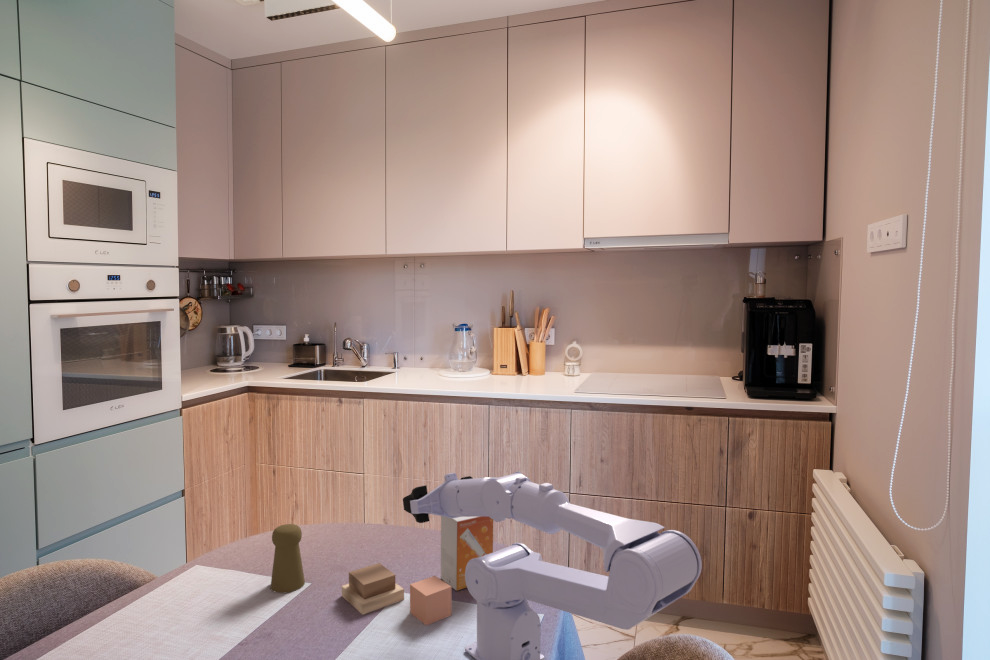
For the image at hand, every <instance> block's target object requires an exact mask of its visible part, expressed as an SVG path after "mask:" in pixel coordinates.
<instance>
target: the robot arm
mask: <svg viewBox="0 0 990 660" xmlns="http://www.w3.org/2000/svg"><path fill="white" fill-rule="evenodd" d="M427 487H428V486H427V485H421V486H417V487H414V488H412V490H411V493H410V494H408V495H406V496H404V497H402V504H403V506H402V507H403V510H404V511H405V512H406V513H408V514H411V515H412V516H413V518H414V519H415V521H416V523H419V524H423V523H424V524H425V523H428V522H430V516H429V515H433V516H438V517H441V516H443V517H448V518H458V517H473V516H489V517H490V518H491V519H493V522H495V523H501V522H503V521H505V520H507V519H509V520H510V519H512V520H514V521H516V522H519V523H520V524H524V525H526V526H527V527H531V528H533V529H536V530H538V531H541V532H543V533H546V534H549V535H555V534H557V533H559V532H561V530H563V531H565V532H567V533H568V534H570V535H573V536H574V537H576V538H579V539H580V540H583V541H585V542H588V543H589V544H592V545H593V546H596V547H598V548H600V549H601V550H602V559H603V561H602V562H603V570H604V571H605V572H606V573H608V572H609V573H608V576H607V575H603V574H599V573H596V572H595V573H594V572H591V571H586V570H581V569H578V568H572V567H569V566H566V565H561V564H557V563H551V562H547V561H544V560H543V557H542V554H541V553H540V552H536V551H533V550H532V549H530V547H528V546H527V545H526V544H525V543H522V542H514V543H512V544H511V545H510V546H507V547H504V548H501V549H499V550H496V551H493V553H490V554H487V555H485V556H482V557H479V558H473V559H471V560H470V561H469V562H468V563H467V565H466V570H465V581H466V585H467V590H468V592H469V594H470V595H471V597H472V598H473V599H474V600H475V601H476V641H474V642H473V643H470V644H468V645H465V647H464V651H465V652H466V653H467V654H468V655H470V656H471V657H472V658H474V659H475V660H545V655H543V654H542V653H541V634H542V633H541V619H540V616H539V614H538V612H536V611H535V610H534V609H533V608H532V606H530V604H529V603H528V601H530V602H534V603H537V604H540V605H543V606H547V607H549V608H553V609H557V610H559V611H562V612H566V613H569V614H572V615H576V616H578V617H582V618H586V619H589V620H592V621H595V622H598V623H601V624H605V625H608V626H612V627H615V628H618V629H621V630H627V631H628V630H631V629H632V628H634V627H636V626H637V625H640V624H642V622H644V621H646V620H648V619H649V618H651V617H652V616H654V615H655V614H657V613H658V612H660V611H662V610H663V609H665V608H667V607H668V606H670V605H671V604H673V603H674V602H676V601H677V600H679V599H681V598H682V597H684V596H685V595H687V594H689V593H690V592H691V591H692V589H693V587H694V586H695V584H696V582H697V581H698V579H699V577H700V576H701V573H702V568H703V562H702V556H701V553H700V551H699V548H698V547H697V546H696V544H695V542H694V540H692V539H691V538H690V537H689V536H688V535H686V534H685V533H684V532H682V531H680V530H676V529H675V530H674V529H669V530H668V529H667V530H664V531H662V532H661V533H660V532H658V531H661V530H663V529H665V528H666V526H663V525H661V524H659V523H657V522H652V521H645V520H640V519H639V520H638V519H633V518H627V517H623V516H620V515H615V514H611V513H608V512H605V511H600V510H597V509H592V508H588V507H584V506H581V505H578V504H573V503H570V500H569V498H568V496H567V494H566V493H565V492H563V491H561V490H557V489H555V488H554V485H553V484H552V483H551V482H550V483H549V482H544V483H541V484H539V483H535V482H532V481H531V479H530V478H528V477H527V475H524V474H522V472H521V471H515V472H513V473H512V474H508V475H502V476H499V477H496V476H495V477H489V476H487V477H477V478H476V477H475V478H473V477H472V476H464V477H461V478H460V479H459V478H458V475H457V473H456V472H449V473H446V474H444V480H443V482H442V483H441V484H439V485H438V486H437V487H435V488H434V489H432V490H431V491H429V492H428V488H427Z"/></svg>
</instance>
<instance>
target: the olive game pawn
mask: <svg viewBox="0 0 990 660" xmlns="http://www.w3.org/2000/svg"><path fill="white" fill-rule="evenodd" d="M271 534H272V535H271V541H272V544H273V545H274V555H273V564H272V572H271V580H270V588H269V589H270V591H272V592H274V593H279V594H286V593H293V592H296V591H298V590H300V589H301V588H303V587H304V585H305V584H306V582H305V581H306V580H305V575H304V569H303V561H302V556H301V549H300V542H301V541H302V534H303V533H302V529H301V528H300V526H299V525H297V524H292V523H286V524H281V525H279V526H276V528H274V529H273V531H272V533H271Z"/></svg>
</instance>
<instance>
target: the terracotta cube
mask: <svg viewBox="0 0 990 660" xmlns="http://www.w3.org/2000/svg"><path fill="white" fill-rule="evenodd" d="M452 605H453V603H452V587H451V586H450V585H449V584H447V583H446V582H445V581H444V580H443V579H441V578H439V577H437V576H436V575H433V576H431V577H427V578H425V579H421V580H418V581H416V582H412V583H410V584H409V613H410V614H411V615H412V616H414V617H415V618H417V620H419V621H420V622H421V623H422V624H423V625H425V626H429V625H431V624H433V623H436V622H438V621H440V620H443V619H446V618H448V617H450V616H452Z"/></svg>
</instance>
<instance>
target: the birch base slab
mask: <svg viewBox="0 0 990 660" xmlns="http://www.w3.org/2000/svg"><path fill="white" fill-rule="evenodd" d="M341 596H342V598H344V600H346V601H347V602H348V603H349V604H350V605H351V606H352V607H353V608H354V609H355V610H357V611H358V612H359V613H360V614H361V615H366V614H368V613H372V612H374V611H377V610H379V609H382V608H385V607H387V606H390V605H393V604H395V603H398V602H399V603H400V602H402V601H403V600H405V588H403V587H402V586H401V585H399V584H398V583H396V582H395V589H393V590H390V591H387V592H384V593H381V594H378V595H375V596H372V597H369V598H366V599H363V598H362V597H361V596H360V595H359V594H358V593H356V592H355V591H354V590H353V589H352V588H351V587H350V586H349V583H346V584H343V585H341Z"/></svg>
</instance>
